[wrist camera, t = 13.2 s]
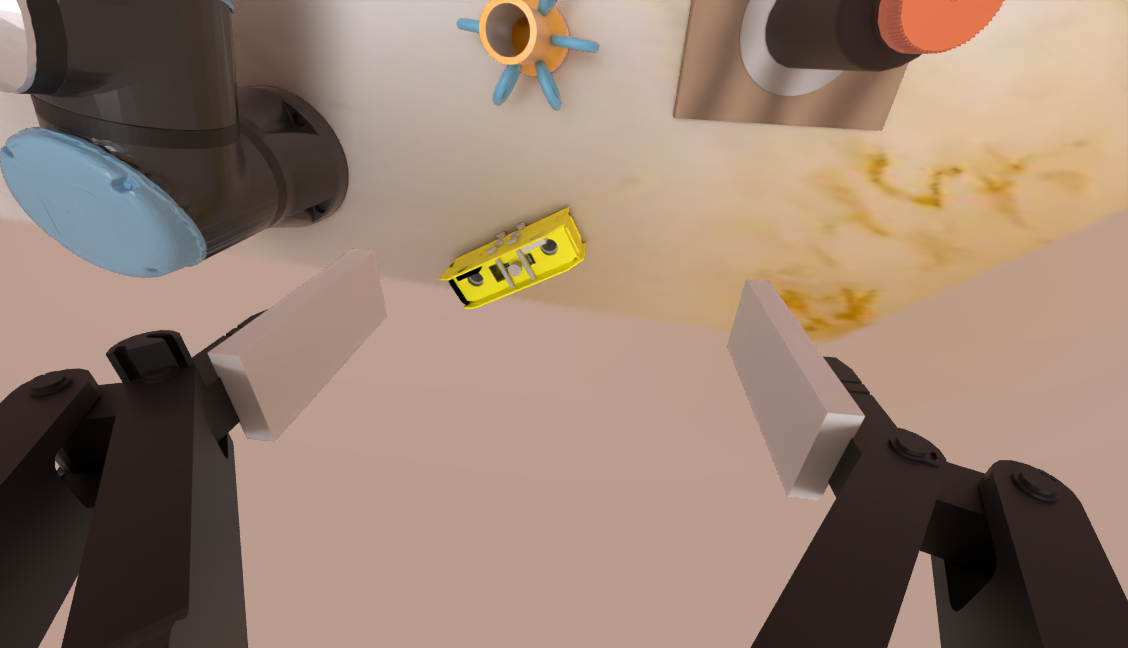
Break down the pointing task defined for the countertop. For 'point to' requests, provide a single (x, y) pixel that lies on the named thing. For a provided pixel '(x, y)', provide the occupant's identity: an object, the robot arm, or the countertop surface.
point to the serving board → (769, 76)
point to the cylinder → (526, 42)
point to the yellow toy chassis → (516, 260)
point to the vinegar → (870, 31)
